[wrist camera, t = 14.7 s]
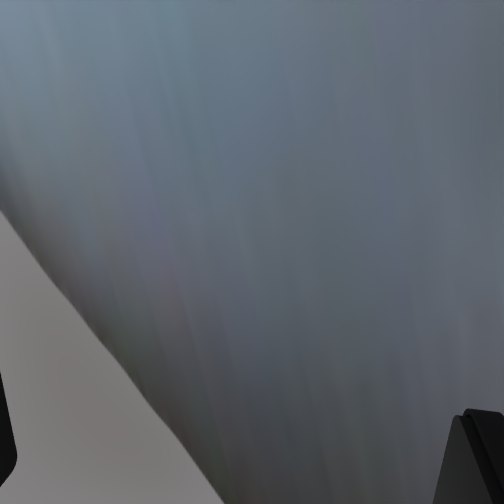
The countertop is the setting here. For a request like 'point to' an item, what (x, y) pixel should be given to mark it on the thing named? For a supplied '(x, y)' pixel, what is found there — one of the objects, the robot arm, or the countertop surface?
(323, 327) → the countertop surface
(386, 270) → the countertop surface
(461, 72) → the countertop surface
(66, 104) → the countertop surface
